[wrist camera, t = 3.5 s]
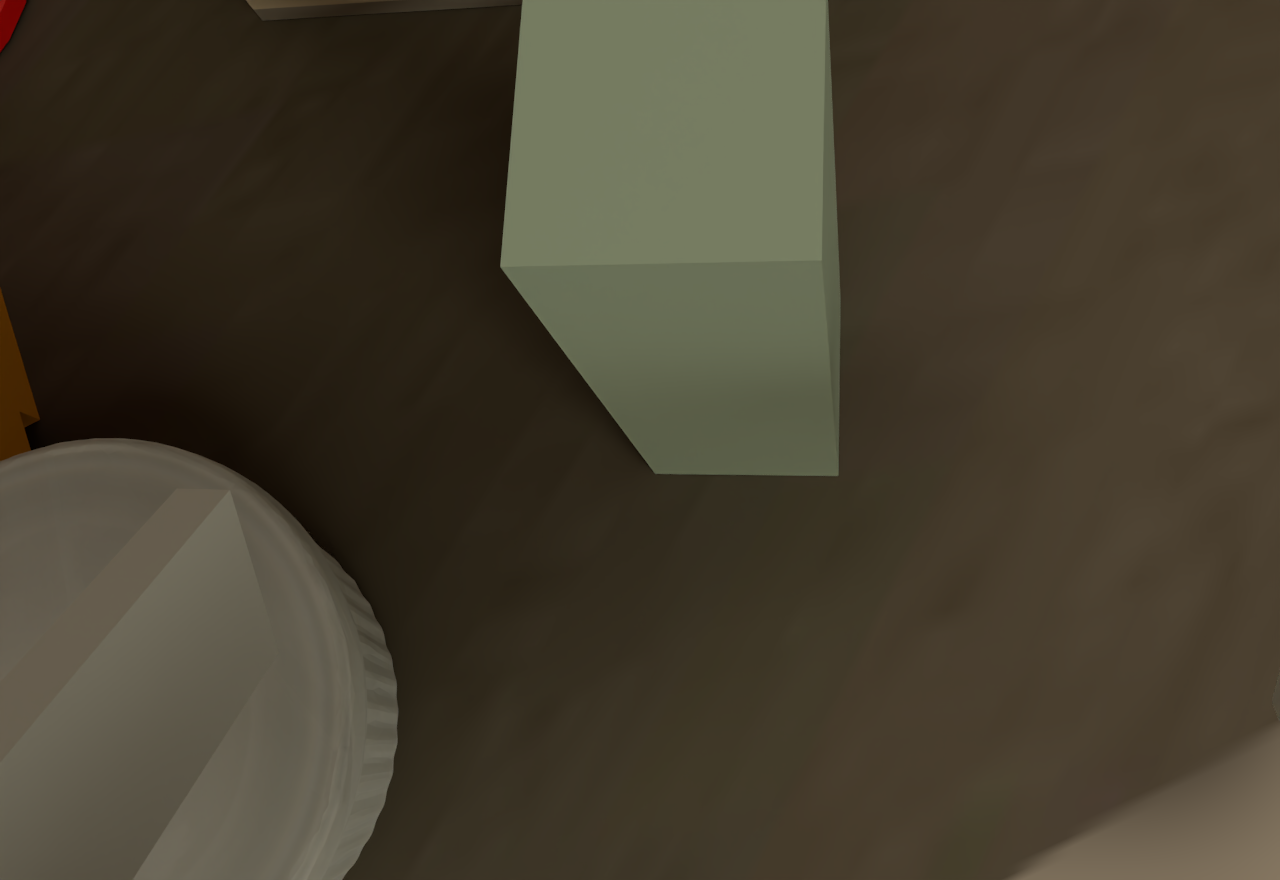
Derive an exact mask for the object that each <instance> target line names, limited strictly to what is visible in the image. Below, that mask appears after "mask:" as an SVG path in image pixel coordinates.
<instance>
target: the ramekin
mask: <svg viewBox="0 0 1280 880" xmlns="http://www.w3.org/2000/svg"><path fill="white" fill-rule="evenodd" d="M176 489H218V490H230V492H231V495H232V498H233V501H234V505H235V508H236V511H237V515H238V518H239V521H240V525H241V528H242V531H243V535H244V538H245V541H246V545H247V548H248V551H249V555H250V558H251V561H252V564H253V568H254V571H255V574H256V578H257V581H258V584H259V588H260V591H261V594H262V598H263V601H264V604H265V608H266V611H267V614H268V617H269V621H270V624H271V627H272V631H273V634H274V637H275V641H276V644H277V647H278V651H279V653H278V654H277V656H276V657H275V659H274V661H273V662H272V664H271V665H270V667H269V668H268V670H267V671H266V673H265V675H264V676H263V678H262V679H261V681H260V682H259V684H258V685H257V687H256V689H255V690H254V692H253V693H252V695H251V696H250V698H249V699H248V701H247V703H246V704H245V706H244V707H243V709H242V710H241V712H240V713H239V715H238V717H237V718H236V720H235V721H234V723H233V724H232V726H231V727H230V729H229V731H228V732H227V734H226V735H225V737H224V738H223V740H222V741H221V743H220V745H219V746H218V748H217V749H216V751H215V752H214V754H213V755H212V757H211V759H210V760H209V762H208V763H207V765H206V766H205V768H204V770H203V771H202V773H201V774H200V776H199V777H198V779H197V780H196V782H195V784H194V785H193V787H192V788H191V790H190V791H189V793H188V794H187V796H186V798H185V799H184V801H183V802H182V804H181V805H180V807H179V808H178V810H177V812H176V813H175V815H174V816H173V818H172V819H171V821H170V822H169V824H168V826H167V827H166V829H165V830H164V832H163V833H162V835H161V836H160V838H159V840H158V841H157V843H156V844H155V846H154V847H153V849H152V850H151V852H150V854H149V855H148V857H147V858H146V860H145V861H144V863H143V864H142V866H141V868H140V869H139V871H138V872H137V874H136V875H135V877H134V878H133V880H342V879H343V877H344V876H345V874H346V873H347V872H348V870H349V869H350V868H351V867H352V866H353V865H354V864H355V862H356V860H357V859H358V857H359V855H360V853H361V850H362V848H363V846H364V845H365V843H366V842H367V841H368V840H369V838H370V837H371V835H372V832H373V830H374V826H375V823H376V820H377V818H378V816H379V814H380V812H381V810H382V808H383V806H384V803H385V800H386V793H387V788H388V786H389V783H390V780H391V778H392V774H393V762H394V754H395V751H396V747H397V742H398V737H397V721H398V704H397V698H396V695H397V682H396V678H395V675H394V670H393V662H392V657H391V654H390V652H389V651H388V649H387V647H386V643H385V637H384V633H383V630H382V628H381V626H380V624H379V623H378V622H377V620H376V618H375V616H374V613H373V611H372V608H371V605H370V603H369V602H368V601H367V600H366V599H365V598H364V596H363V595H362V594H361V592H360V590H359V588H358V586H357V584H356V582H355V580H353V579H352V578H351V577H350V576H349V575H348V574H347V573H346V572H345V571H344V570H343V569H342V567H341V566H340V564H339V563H338V562H337V561H336V560H335V559H334V558H333V557H332V556H330V555H329V554H328V553H327V552H325V551H324V550H323V549H322V548H320V547H319V546H318V545H317V544H316V543H315V542H314V540H313V539H312V538H311V537H310V535H309V534H308V533H307V531H306V530H305V529H304V528H303V526H302V525H301V524H300V523H299V522H298V521H297V520H296V519H295V518H294V517H293V516H292V515H291V514H290V512H289V511H287V510H286V509H285V508H284V507H283V506H282V505H281V504H280V503H279V502H278V501H277V500H275V499H274V498H273V497H272V496H271V495H270V494H268V493H267V492H266V491H264V490H263V489H262V488H261V487H259V486H258V485H257V484H255V483H253V482H252V481H250V480H248V479H247V478H245V477H244V476H242V475H240V474H239V473H237V472H235V471H233V470H231V469H229V468H227V467H225V466H223V465H221V464H219V463H217V462H215V461H212V460H210V459H208V458H205V457H203V456H200V455H197V454H194V453H192V452H189V451H186V450H183V449H180V448H176V447H172V446H168V445H164V444H160V443H156V442H150V441H143V440H135V439H124V438H94V439H86V440H76V441H69V442H61V443H57V444H53V445H50V446H46V447H42V448H39V449H35V450H31V451H28V452H25V453H21V454H18V455H15V456H13V457H10V458H8V459H5V460H2V461H0V682H1V681H2V680H3V679H4V677H5V676H6V675H7V674H8V673H9V672H10V671H11V670H12V669H13V668H14V667H15V665H16V664H17V663H18V662H19V661H20V660H21V659H22V658H23V657H24V656H25V654H26V653H27V652H28V651H29V650H30V649H31V648H32V647H33V646H34V645H35V644H36V642H37V641H38V640H39V639H40V638H41V637H42V636H43V635H44V634H45V633H46V631H47V630H48V629H49V628H50V627H51V626H52V625H53V624H54V623H55V622H56V620H57V619H58V618H59V617H60V616H61V615H62V614H63V613H64V612H65V611H66V610H67V608H68V607H69V606H70V605H71V604H72V603H73V602H74V601H75V600H76V599H77V597H78V596H79V595H80V594H81V593H82V592H83V591H84V590H85V589H86V588H87V587H88V585H89V584H90V583H91V582H92V581H93V580H94V579H95V578H96V577H97V576H98V574H99V573H100V572H101V571H102V570H103V569H104V568H105V567H106V566H107V565H108V563H109V562H110V561H111V560H112V559H113V558H114V557H115V556H116V555H117V554H118V553H119V551H120V550H121V549H122V548H123V547H124V546H125V545H126V544H127V543H128V542H129V540H130V539H131V538H132V537H133V536H134V535H135V534H136V533H137V532H138V531H139V530H140V528H141V527H142V526H143V525H144V524H145V523H146V522H147V521H148V520H149V519H150V517H151V516H152V515H153V514H154V513H155V512H156V511H157V510H158V509H159V508H160V506H161V505H162V504H163V503H164V502H165V501H166V500H167V499H168V498H169V497H170V496H171V494H172V493H173V492H174V491H175V490H176Z"/></svg>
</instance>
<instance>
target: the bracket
mask: <svg viewBox="0 0 1280 880" xmlns="http://www.w3.org/2000/svg"><path fill="white" fill-rule="evenodd" d="M39 420H40V417H39V414H38V411H37V407H36V404H35V401H34V398H33V394H32V391H31V388H30V384H29V381H28V378H27V374H26V371H25V368H24V365H23V361H22V358H21V355H20V351H19V348H18V345H17V341H16V338H15V335H14V332H13V328H12V325H11V322H10V318H9V315H8V312H7V308H6V305H5V302H4V299H3V295H2V292H1V289H0V461H2V460H5V459H8V458H10V457H13V456H15V455H18V454H21V453H25V452H28V451H31V449H30V446H29V442H28V439H27V435H26V432H25V429H24V428H25V427H27V426H29V425H31V424H33V423H35V422H37V421H39Z"/></svg>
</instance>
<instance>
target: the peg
mask: <svg viewBox="0 0 1280 880" xmlns="http://www.w3.org/2000/svg"><path fill="white" fill-rule="evenodd" d="M500 267H501V269H502V270H503V271H504V273H505V274H506V275H507V277H508V278H509V279H510V281H511V282H512V283H513V285H514V286H515V287H516V289H517V290H518V291H519V293H520V294H521V295H522V297H523V298H524V299H525V301H526V302H527V303H528V305H529V306H530V307H531V309H532V310H533V311H534V313H535V314H536V315H537V317H538V318H539V319H540V321H541V322H542V323H543V325H544V326H545V327H546V329H547V330H548V331H549V333H550V334H551V335H552V337H553V338H554V339H555V341H556V342H557V343H558V345H559V346H560V347H561V349H562V350H563V351H564V353H565V354H566V355H567V357H568V358H569V359H570V361H571V362H572V363H573V365H574V366H575V367H576V369H577V370H578V371H579V373H580V374H581V375H582V377H583V378H584V379H585V381H586V382H587V383H588V385H589V386H590V387H591V389H592V390H593V391H594V393H595V394H596V395H597V397H598V398H599V399H600V401H601V402H602V403H603V405H604V406H605V407H606V409H607V410H608V411H609V413H610V414H611V415H612V417H613V418H614V420H615V421H616V422H617V424H618V425H619V426H620V428H621V429H622V430H623V432H624V433H625V434H626V436H627V437H628V438H629V440H630V441H631V442H632V444H633V445H634V446H635V448H636V449H637V450H638V452H639V453H640V454H641V456H642V457H643V458H644V460H645V461H646V462H647V464H648V465H649V466H650V468H651V469H652V470H653V472H654V473H655V474H708V475H790V476H838V474H839V388H840V303H841V300H840V277H839V253H838V230H837V206H836V182H835V159H834V135H833V112H832V88H831V64H830V41H829V17H828V0H523V2H522V14H521V26H520V38H519V50H518V61H517V73H516V85H515V97H514V109H513V121H512V133H511V145H510V157H509V168H508V180H507V192H506V204H505V216H504V228H503V240H502V252H501V264H500Z"/></svg>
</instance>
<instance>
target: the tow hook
mask: <svg viewBox="0 0 1280 880" xmlns="http://www.w3.org/2000/svg"><path fill="white" fill-rule="evenodd" d="M25 4H26V0H0V52H1V50H2V49H3V48H4V46H5V45H6V44H7V42H8V41H9V40H10V37H11V35H12V33H13V31H14V28H15V26H16V24H17V22H18V20H19V17H20V15H21V13H22V11H23V8H24V6H25Z"/></svg>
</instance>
